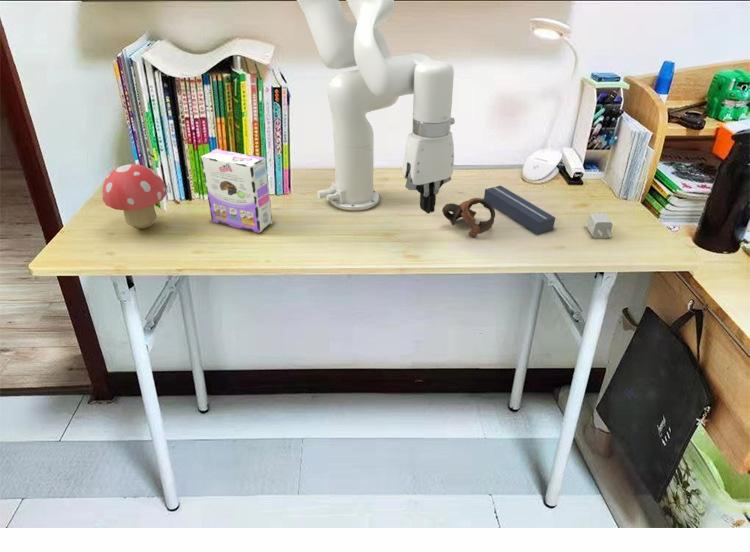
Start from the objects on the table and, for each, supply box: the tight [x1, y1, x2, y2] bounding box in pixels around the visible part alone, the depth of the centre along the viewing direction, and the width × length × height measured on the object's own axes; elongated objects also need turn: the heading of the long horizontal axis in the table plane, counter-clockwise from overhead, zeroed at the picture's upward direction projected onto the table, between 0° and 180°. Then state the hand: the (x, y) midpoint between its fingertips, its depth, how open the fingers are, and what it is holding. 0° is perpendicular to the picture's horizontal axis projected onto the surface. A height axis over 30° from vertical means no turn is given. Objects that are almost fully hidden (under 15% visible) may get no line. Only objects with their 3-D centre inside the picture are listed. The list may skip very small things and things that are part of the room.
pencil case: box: [483, 185, 556, 235], centre depth 136 cm, size 5×20×3 cm, turn 28°
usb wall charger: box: [586, 212, 614, 239], centre depth 127 cm, size 4×7×4 cm, turn 179°
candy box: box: [200, 148, 273, 234], centre depth 127 cm, size 14×6×16 cm, turn 65°
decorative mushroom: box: [101, 163, 168, 230], centre depth 125 cm, size 13×13×15 cm
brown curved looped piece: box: [441, 197, 496, 238], centre depth 129 cm, size 12×10×8 cm
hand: (427, 210), depth 121 cm, fingers closed
